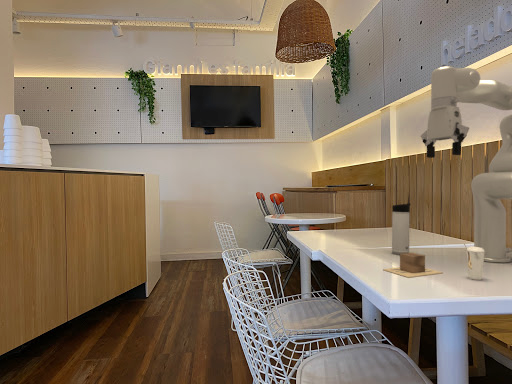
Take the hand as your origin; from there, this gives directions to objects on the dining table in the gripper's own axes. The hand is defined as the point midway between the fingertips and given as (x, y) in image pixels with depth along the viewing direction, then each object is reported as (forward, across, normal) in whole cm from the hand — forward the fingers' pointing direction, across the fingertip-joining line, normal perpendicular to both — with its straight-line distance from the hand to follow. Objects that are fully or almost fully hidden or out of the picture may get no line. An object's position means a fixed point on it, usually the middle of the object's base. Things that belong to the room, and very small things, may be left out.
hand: (443, 156), depth 113 cm
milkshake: (+37, -16, +7) cm, 41 cm away
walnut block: (+36, -3, +17) cm, 40 cm away
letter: (+37, -3, +17) cm, 41 cm away
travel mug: (+37, +20, -2) cm, 42 cm away
